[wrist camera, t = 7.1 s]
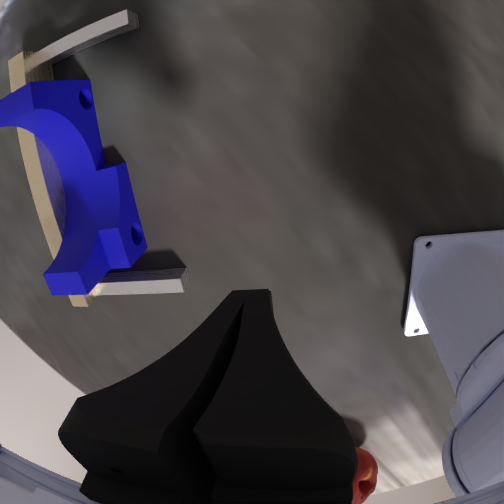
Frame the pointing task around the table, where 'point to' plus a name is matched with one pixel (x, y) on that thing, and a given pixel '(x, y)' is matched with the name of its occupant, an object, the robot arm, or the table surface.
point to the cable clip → (80, 184)
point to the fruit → (364, 476)
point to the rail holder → (47, 173)
